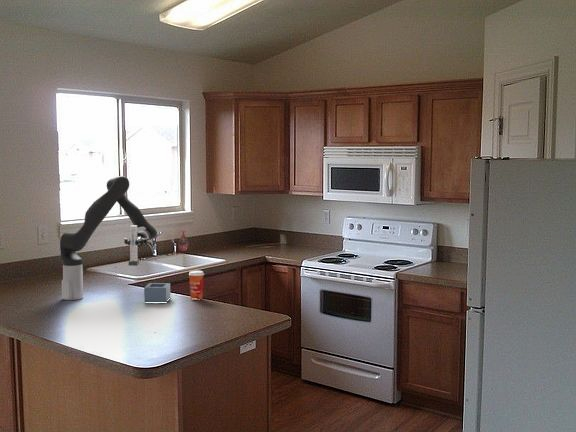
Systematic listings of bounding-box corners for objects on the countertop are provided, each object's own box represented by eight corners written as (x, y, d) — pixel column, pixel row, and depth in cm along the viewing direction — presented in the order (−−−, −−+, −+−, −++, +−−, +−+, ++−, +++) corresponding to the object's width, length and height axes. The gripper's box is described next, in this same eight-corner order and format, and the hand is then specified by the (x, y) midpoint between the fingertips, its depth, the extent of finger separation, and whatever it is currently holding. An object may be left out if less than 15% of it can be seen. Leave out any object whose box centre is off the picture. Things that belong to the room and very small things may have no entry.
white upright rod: (128, 265, 317) (128, 226, 315) (130, 264, 321) (130, 225, 319) (137, 265, 317) (136, 226, 315) (139, 264, 321) (138, 225, 319)
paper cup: (185, 299, 314) (185, 272, 313) (194, 296, 321) (194, 269, 320) (198, 301, 310) (198, 273, 309) (207, 298, 317) (207, 271, 316)
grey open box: (166, 303, 305) (166, 287, 304) (144, 303, 305) (144, 287, 304) (170, 299, 316) (170, 283, 315) (149, 298, 316) (149, 283, 315)
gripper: (126, 231, 331) (118, 235, 314) (153, 231, 331) (146, 235, 314) (127, 245, 332) (118, 250, 315) (153, 245, 332) (146, 250, 315)
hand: (132, 243), depth 315 cm, fingers closed on white upright rod, 3 cm apart
